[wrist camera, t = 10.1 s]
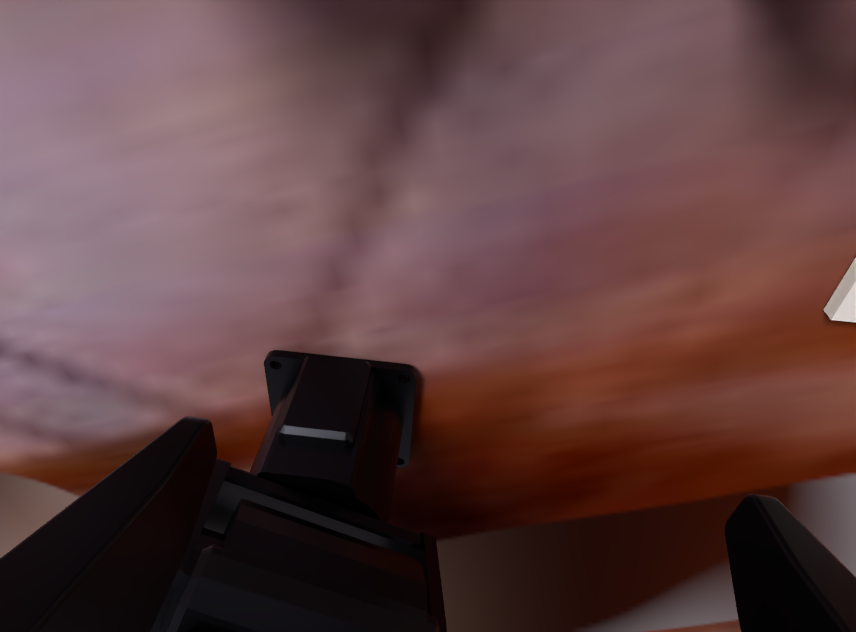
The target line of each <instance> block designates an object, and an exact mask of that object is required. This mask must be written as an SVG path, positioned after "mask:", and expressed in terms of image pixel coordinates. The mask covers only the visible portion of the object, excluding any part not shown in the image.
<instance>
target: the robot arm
mask: <svg viewBox="0 0 856 632" xmlns="http://www.w3.org/2000/svg"><path fill="white" fill-rule="evenodd" d="M275 361H278V362H279V363H276V362H275ZM264 367H265V374H266V380H267V387H268V394H269V401H270V407H271V414H272V418H271V421H270V423H269V426H268V428H267V431H266V433H265V436H264V438H263V441H262V443H261V446H260V448H259V450H258V453H257V455H256V458H255V460H254V463H253V465H252V468H251V470H250V473H249V472H246V471H244V470H241V469H238V468H235V467H232V466H231V463H229V462H226V461H223V460H221V459H218V458H217V459H216V457H217V449H216V443H215V438H214V432H213V427H212V423H211V422H210V420H209V419H205V418H198V417H191V416H189V417H184V418H182V419H180V420H179V421H178V422H176V423H175V424H174V425H173V426H171V427H170V428H169V429H167V430H166V431H165V432H163V433H162V434H161V435H160V436H158V437H157V438H156V439H154V440H153V441H152V442H151V443H149V444H148V445H147V446H145V447H144V448H143V449H141V450H140V451H139V452H138V453H136V454H135V455H134V456H132V457H131V458H130V459H129V460H127V461H126V462H125V463H123V464H122V465H121V466H119V467H118V468H117V469H116V470H114V471H113V472H112V473H110V474H109V475H108V476H106V477H105V478H104V479H103V480H101V481H100V482H99V483H97V484H96V485H95V486H94V487H92V488H91V489H90V490H88V491H87V492H86V493H84V494H83V495H82V496H81V497H79V498H78V499H77V500H75V501H74V502H73V503H72V504H70V505H69V506H68V507H66V508H65V509H64V510H63V511H61V512H60V513H59V514H57V515H56V516H55V517H53V518H52V519H51V520H49V521H48V522H47V523H46V524H44V525H43V526H42V527H40V528H39V529H38V530H36V531H35V532H34V533H33V534H31V535H30V536H29V537H27V538H26V539H25V540H24V541H22V542H21V543H20V544H18V545H17V546H16V547H14V548H13V549H12V550H11V551H9V552H8V553H7V554H5V555H4V556H3V557H1V558H0V632H447V629H446V618H445V610H444V602H443V594H442V586H441V578H440V570H439V561H438V553H437V545H436V538H435V537H434V536H431V535H428V534H426V533H423V532H422V533H420V534H419V533H416V532H413V531H410V530H407V529H405V528H402V527H399V526H396V525H394V524H391V523H388V518H389V512H390V505H391V499H392V493H393V487H394V480H395V474H396V468H404V467H407V466H408V465H409V463H410V456H411V442H412V429H413V415H414V402H415V388H416V375H417V374H416V370H415V369H414V368H413V367H412V366H410V365H407V364H399V363H390V362H381V361H372V360H362V359H353V358H344V357H335V356H325V355H316V354H307V353H298V352H289V351H279V350H273V351H271V352H269V353H268V354H267V356H266V359H265V361H264ZM401 375H406V376H408V377H403V376H401ZM725 538H726V544H727V551H728V557H729V563H730V569H731V575H732V582H733V588H734V594H735V601H736V607H737V612H738V618H739V623H740V628H741V632H856V577H855V576H854V575H853V574H852V573H851V572H850V571H849V570H848V569H847V568H846V567H845V566H844V565H843V564H842V563H841V562H840V561H839V560H838V559H837V558H836V557H835V556H834V555H833V554H832V553H831V552H830V551H829V550H828V549H827V548H826V547H825V546H824V545H823V544H822V543H821V542H820V541H819V540H818V539H817V538H816V537H815V536H814V535H813V534H812V533H811V532H810V531H809V530H808V529H807V528H806V527H805V526H804V525H803V524H802V523H801V522H800V521H799V520H798V519H797V518H796V517H795V516H794V515H793V514H792V513H791V512H790V511H789V510H788V509H787V508H786V507H785V506H784V505H783V504H782V503H781V502H780V501H779V500H777V499H776V498H774V497H772V496H767V495H759V494H748V495H746V496H745V497H744V498H743V499H742V501H741V502H740V503H739V505H738V506H737V507H736V509H735V510H734V511H733V513H732V514H731V515H730V517H729V518H728V520H727V522H726V525H725Z"/></svg>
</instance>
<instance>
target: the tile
mask: <svg viewBox="0 0 856 632" xmlns="http://www.w3.org/2000/svg"><path fill="white" fill-rule="evenodd" d="M824 311H825V313H826V314H827V315H828V317H829V318H830V319H831V320H837V321H846V322H856V258H855V259H854V261H853V263H852V264H851V266H850V267H849V269H848V271H847V272H846V274H845V276H844V277H843V279H842V280H841V282H840V284H839V285H838V287H837V289H836V290H835V292H834V293H833V295H832V297H831V298H830V300H829V302H828V303H827V305H826V306H825V308H824Z"/></svg>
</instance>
